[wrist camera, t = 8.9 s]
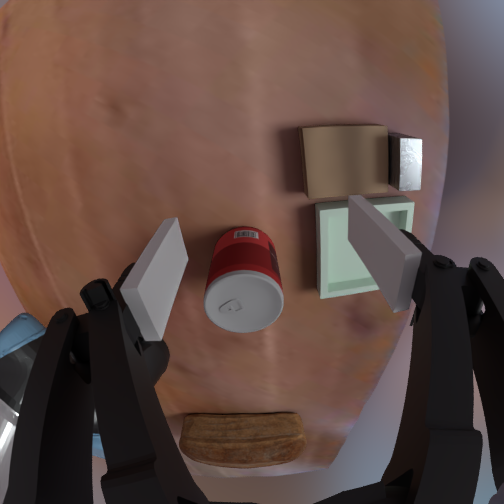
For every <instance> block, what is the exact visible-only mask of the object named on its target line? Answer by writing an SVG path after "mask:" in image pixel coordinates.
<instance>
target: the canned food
mask: <svg viewBox="0 0 504 504" xmlns="http://www.w3.org/2000/svg"><path fill="white" fill-rule="evenodd" d="M204 309H205V313H206V314H207V316H208V318H209V319H210V320H211V321H212V322H213V323H214V324H215V325H217V326H219V327H220V328H222V329H225V330H228V331H232V332H238V333H247V332H254V331H258V330H261V329H263V328H265V327H267V326H269V325H271V324H272V323H273V322H274V321H275V320H276V319H277V318H278V317H279V315H280V314H281V312H282V309H283V291H282V284H281V278H280V273H279V267H278V262H277V256H276V251H275V247H274V244H273V242H272V240H271V239H270V238H269V237H268V236H267V235H266V234H265V233H264V232H262V231H261V230H259V229H256V228H253V227H238V228H234V229H232V230H230V231H228V232H227V233H225V234H224V235H223V236H222V237H221V238H220V239H219V240H218V242H217V244H216V245H215V249H214V253H213V257H212V261H211V266H210V270H209V275H208V279H207V284H206V288H205V294H204Z"/></svg>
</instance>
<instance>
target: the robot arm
mask: <svg viewBox="0 0 504 504" xmlns="http://www.w3.org/2000/svg"><path fill="white" fill-rule="evenodd" d="M348 241H349V242H350V244H351V245H352V247H353V248H354V250H355V251H356V253H357V254H358V256H359V257H360V259H361V260H362V262H363V263H364V265H365V267H366V268H367V270H368V271H369V273H370V274H371V276H372V278H373V279H374V281H375V282H376V284H377V286H378V287H379V289H380V291H381V292H382V294H383V296H384V297H385V299H386V301H387V302H388V304H389V306H390V308H391V309H392V311H393V313H395V312H399V311H404V310H408V309H409V306H410V303H411V299H413V300H414V302H415V303H416V307H415V311H414V314H413V317H412V320H411V324H410V326H412V325H413V340H412V352H411V361H410V370H409V378H408V385H407V391H406V397H405V403H404V409H403V413H402V418H401V423H400V427H399V432H398V436H397V440H396V444H395V448H394V451H393V455H392V458H391V460H390V463H389V465H388V466H387V468H386V470H385V472H384V474H383V476H382V479H381V481H380V482H377V483H374V484H370V485H367V486H363V487H360V488H356V489H352V490H347V491H343V492H341V493H338V494H336V495H334V496H331V497H329V498H327V499H324V500H322V501H319V502H316V503H314V504H473V500H474V496H475V492H476V487H477V481H478V476H479V470H480V463H481V454H482V445H483V439H482V434H481V432H480V431H478V430H475V429H474V427H473V405H474V404H473V403H474V402H473V401H474V395H473V393H474V390H473V389H474V388H473V370H474V374H475V377H476V381H477V385H478V389H479V393H480V397H481V401H482V406H483V411H484V416H485V421H486V427H487V433H488V440H489V448H490V457H491V465H492V473H493V477H494V481H495V486H496V489H497V494H495V495H493V496H492V497H491V499H490V501H489V504H504V279H503V277H502V276H501V275H500V273H499V272H498V270H497V269H496V267H495V266H494V265H493V264H492V263H491V262H490V261H488V260H487V259H485V258H482V257H481V258H480V257H475V258H472V259H471V261H470V264H469V268H463V267H456V265H455V263H454V262H453V261H452V260H451V259H449V258H447V257H445V256H441V255H433V254H432V253H431V252H430V251H429V250H428V249H427V248H426V247H425V246H424V245H423V244H421V242H420V241H419V240H417V238H416V237H415V236H414V235H413V234H412V233H410V232H408V231H406V230H404V229H398V228H397V227H396V226H395V225H394V224H393V223H391V222H390V221H389V220H388V219H387V218H386V217H385V216H384V215H383V214H382V213H381V212H380V211H378V210H377V209H376V208H375V207H374V206H373V205H372V204H371V203H369V202H368V201H367V200H366V199H365V198H364V197H363V196H361V195H353V196H348ZM187 262H188V256H187V252H186V249H185V245H184V241H183V238H182V234H181V230H180V226H179V222H178V218H177V217H175V218H169V219H165V220H164V221H163V222H162V224H161V225H160V227H159V228H158V230H157V231H156V233H155V234H154V236H153V237H152V239H151V240H150V242H149V243H148V245H147V246H146V248H145V249H144V251H143V252H142V254H141V256H140V257H139V259H138V260H137V262H136V263H132V264H130V265H129V266H128V267H127V268H126V269H125V270H124V271H123V273H122V274H121V277H120V278H119V279H118V282H116V284H115V286H114V287H113V289H112V288H111V286H110V284H109V282H108V280H107V279H104V278H102V279H96V280H93V281H91V282H89V283H88V284H87V285H85V286H84V287H83V288H82V290H81V291H80V296H81V298H82V300H83V301H84V303H85V305H86V307H87V309H88V311H89V313H86V314H82V315H79V316H76V314H75V312H74V311H73V309H72V308H64V309H61V310H59V311H57V312H56V314H55V315H54V316H53V317H52V318H51V320H50V322H49V324H48V327H47V328H45V327H44V326H43V325H42V324H41V323H40V322H39V321H38V320H37V319H36V318H35V317H33V316H32V315H31V314H29V313H21V314H19V315H18V316H17V317H15V318H14V319H13V320H12V321H11V322H10V323H9V324H8V325H7V326H6V327H5V328H4V329H3V330H2V331H1V332H0V504H93V490H92V489H93V487H92V455H93V456H97V457H100V458H104V459H105V460H106V464H107V469H108V471H107V473H106V474H105V475H103V476H102V477H101V488H102V491H103V495H104V498H105V502H106V504H257V503H252V502H251V503H234V502H232V503H231V502H209V501H208V499H207V498H206V496H205V495H204V493H203V492H202V491H201V490H200V488H199V487H198V486H197V485H196V483H195V482H194V480H193V478H192V476H191V474H190V472H189V470H188V468H187V466H186V464H185V462H184V460H183V458H182V456H181V454H180V452H179V449H178V447H177V445H176V443H175V440H174V438H173V436H172V433H171V431H170V428H169V426H168V424H167V421H166V419H165V416H164V413H163V411H162V408H161V405H160V403H159V400H158V397H157V394H156V392H155V389H154V386H155V384H156V383H157V381H158V380H159V379H160V377H161V375H162V374H163V373H164V372H165V371H166V369H167V366H168V362H169V357H170V354H169V350H168V347H167V345H166V344H165V342H164V341H163V339H162V337H163V334H164V330H165V327H166V324H167V321H168V318H169V315H170V312H171V308H172V305H173V302H174V299H175V296H176V293H177V290H178V287H179V285H180V282H181V279H182V276H183V273H184V270H185V267H186V264H187ZM483 304H484V305H485V312H484V313H483V312H482V310H481V308H482V306H483ZM413 322H414V323H413Z"/></svg>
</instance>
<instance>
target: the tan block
mask: <svg viewBox="0 0 504 504" xmlns="http://www.w3.org/2000/svg"><path fill="white" fill-rule="evenodd" d="M298 131H299V140H300V149H301V159H302V170H303V181H304V193H305V194H306V196H307V197H308V199H316V198H326V197H336V196H346V195H358V194H370V193H383V192H388V130H387V126H384V125H379V124H343V125H319V126H304V127H298Z"/></svg>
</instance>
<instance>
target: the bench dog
mask: <svg viewBox="0 0 504 504" xmlns="http://www.w3.org/2000/svg"><path fill="white" fill-rule="evenodd" d="M421 163H422V139H419V138H416V137H412V136H408V135H404V134H400V133H388V184H389V185H391V186H392V187H394V188H396V189H397V190H399V191H409V190H420V184H421Z"/></svg>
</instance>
